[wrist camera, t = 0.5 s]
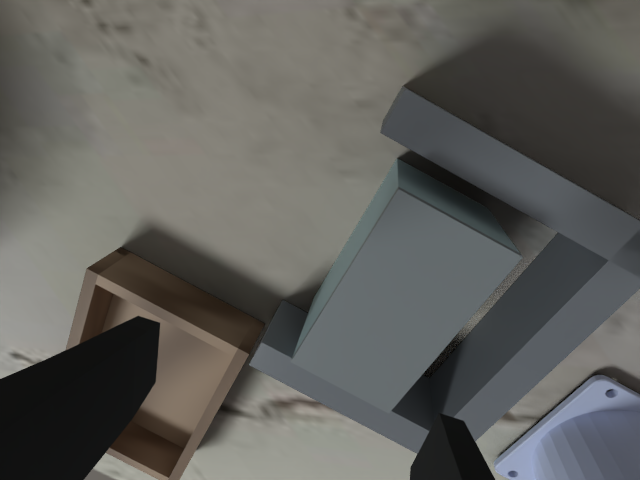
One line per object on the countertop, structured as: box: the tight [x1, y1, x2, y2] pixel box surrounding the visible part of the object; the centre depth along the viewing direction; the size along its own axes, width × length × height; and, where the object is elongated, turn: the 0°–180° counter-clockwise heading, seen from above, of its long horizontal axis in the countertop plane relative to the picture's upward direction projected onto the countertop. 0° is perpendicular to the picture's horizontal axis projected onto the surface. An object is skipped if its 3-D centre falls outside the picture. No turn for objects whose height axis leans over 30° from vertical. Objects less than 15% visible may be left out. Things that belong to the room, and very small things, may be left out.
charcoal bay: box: [249, 86, 640, 454], centre depth 16 cm, size 10×13×4 cm
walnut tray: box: [66, 247, 265, 480], centre depth 22 cm, size 9×12×2 cm
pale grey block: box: [291, 158, 523, 413], centre depth 16 cm, size 4×8×5 cm, turn 153°
